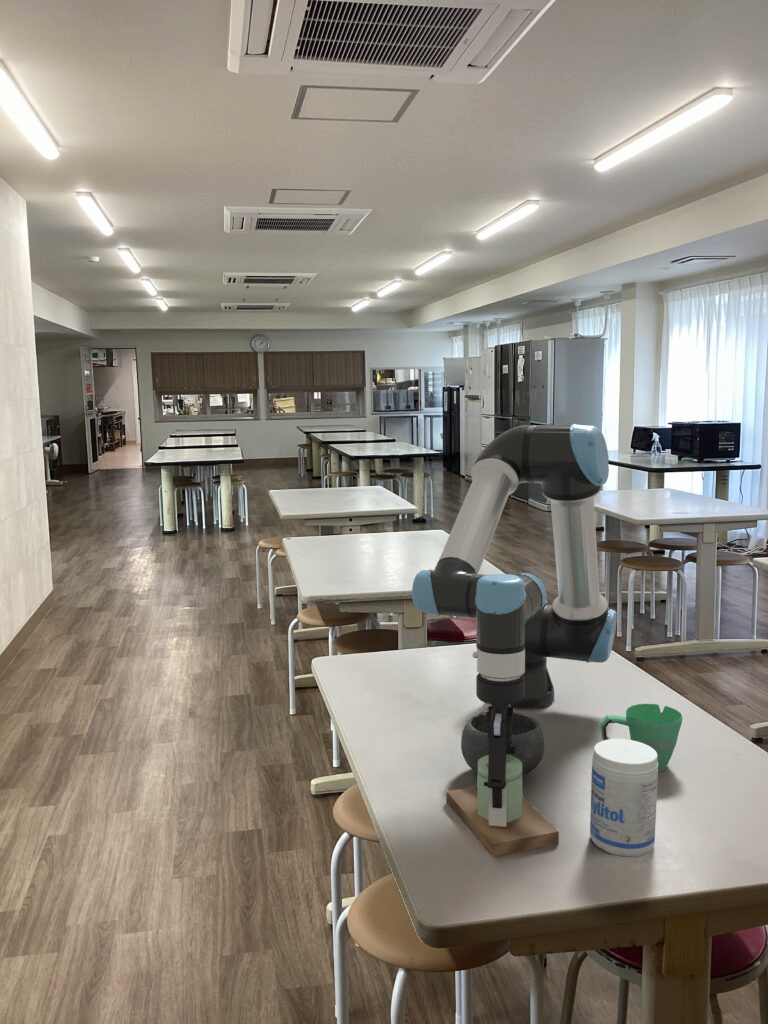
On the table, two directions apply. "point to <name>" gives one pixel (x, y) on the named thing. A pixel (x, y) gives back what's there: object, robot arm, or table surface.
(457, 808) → the stud block
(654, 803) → the supplement tub
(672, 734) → the mug
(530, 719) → the bowl
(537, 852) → the table surface
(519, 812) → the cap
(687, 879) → the table surface
